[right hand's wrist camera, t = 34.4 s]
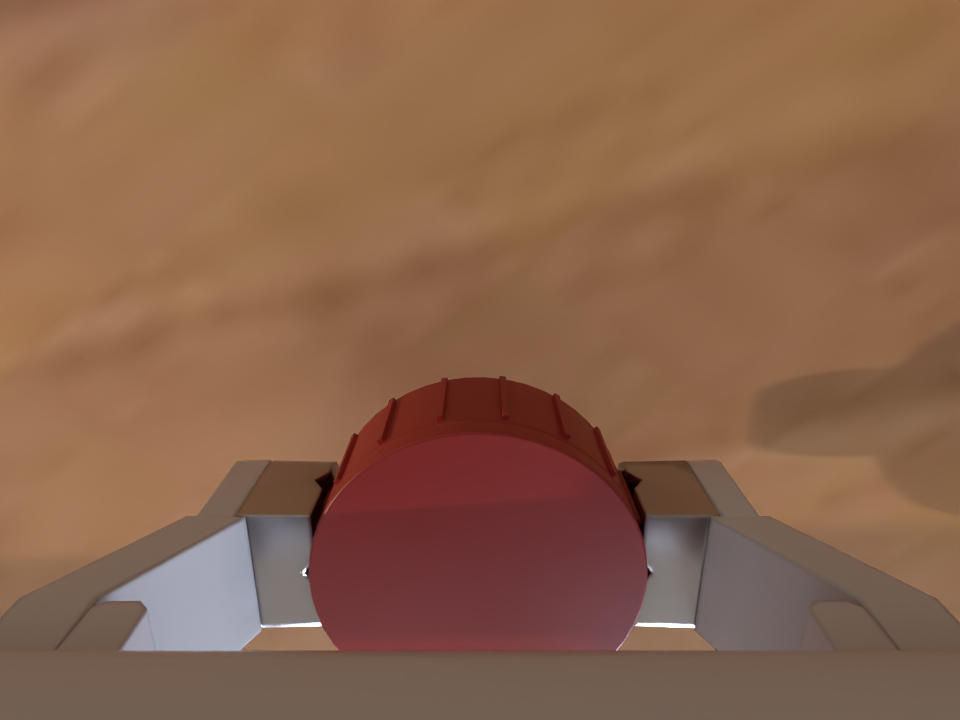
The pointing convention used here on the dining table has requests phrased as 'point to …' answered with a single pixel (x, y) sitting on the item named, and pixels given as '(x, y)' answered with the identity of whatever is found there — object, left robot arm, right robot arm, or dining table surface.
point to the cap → (478, 528)
